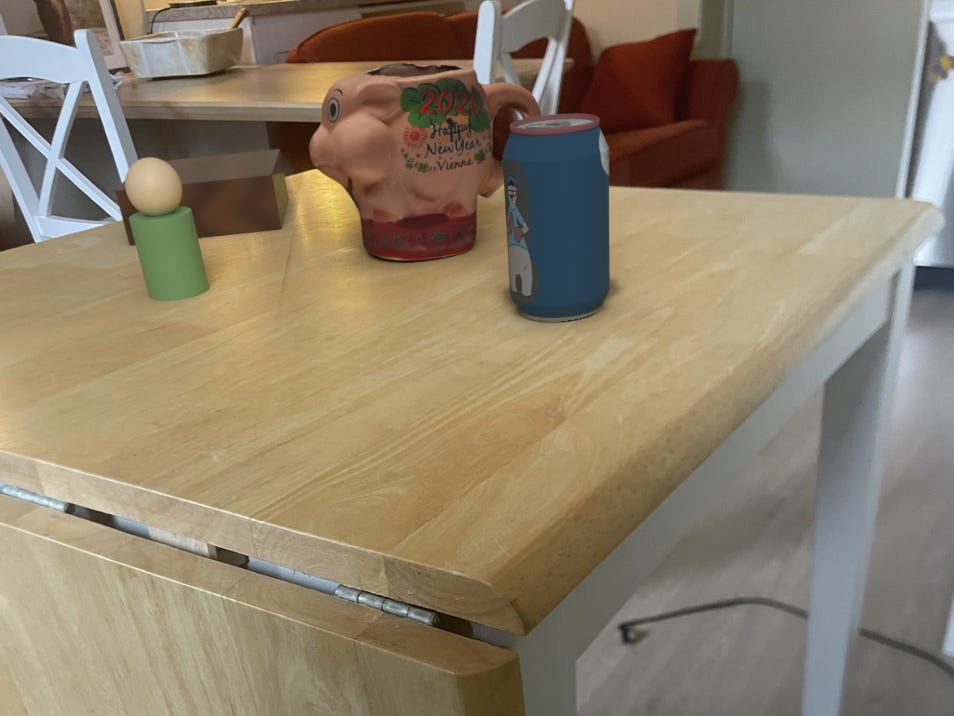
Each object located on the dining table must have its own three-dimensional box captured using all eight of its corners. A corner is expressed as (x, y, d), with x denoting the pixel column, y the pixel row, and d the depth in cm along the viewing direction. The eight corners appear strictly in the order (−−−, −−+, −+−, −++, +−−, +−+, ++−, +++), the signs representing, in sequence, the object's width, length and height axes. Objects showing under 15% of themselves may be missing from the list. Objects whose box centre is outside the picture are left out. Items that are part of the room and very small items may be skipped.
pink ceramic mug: (512, 214, 96) (503, 47, 88) (571, 239, 87) (566, 54, 79) (311, 250, 91) (282, 75, 83) (350, 281, 81) (321, 86, 73)
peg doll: (149, 320, 77) (108, 166, 71) (158, 302, 81) (120, 155, 75) (209, 313, 77) (174, 160, 71) (215, 296, 81) (182, 149, 75)
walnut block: (133, 259, 93) (114, 190, 90) (156, 225, 105) (140, 163, 101) (284, 243, 94) (271, 174, 91) (290, 211, 105) (279, 148, 102)
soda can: (623, 297, 72) (624, 111, 65) (588, 328, 67) (585, 130, 60) (534, 292, 75) (526, 112, 68) (495, 321, 70) (482, 130, 63)
